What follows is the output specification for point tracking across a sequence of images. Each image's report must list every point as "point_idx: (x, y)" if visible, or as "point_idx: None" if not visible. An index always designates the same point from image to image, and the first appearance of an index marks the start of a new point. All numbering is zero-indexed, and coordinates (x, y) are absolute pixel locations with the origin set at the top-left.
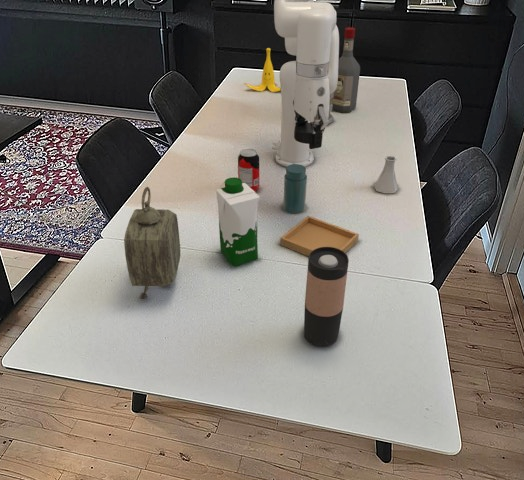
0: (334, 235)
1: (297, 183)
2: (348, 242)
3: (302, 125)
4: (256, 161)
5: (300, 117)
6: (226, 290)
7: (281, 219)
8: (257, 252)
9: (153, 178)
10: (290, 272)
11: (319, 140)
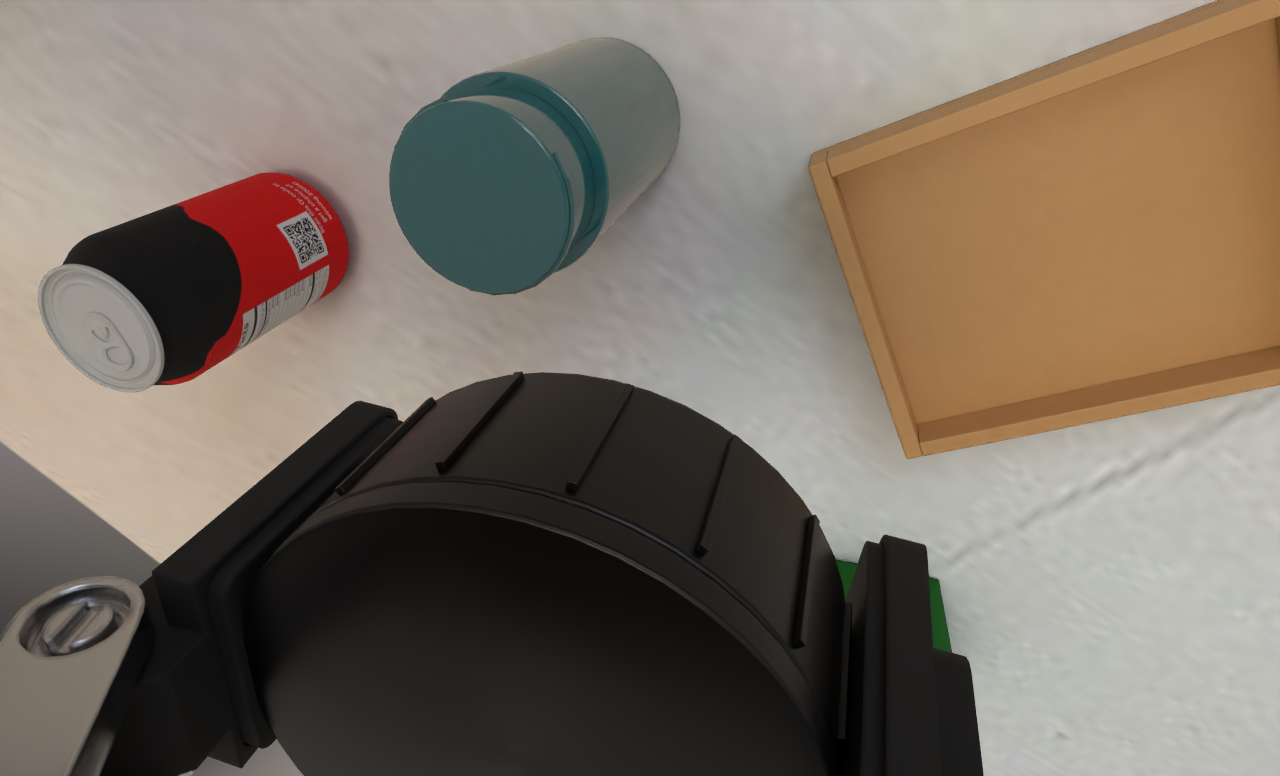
0: (1096, 114)
1: (606, 221)
2: None
3: (360, 744)
4: (197, 297)
5: (118, 764)
6: (1025, 762)
7: (686, 272)
8: (935, 607)
9: (117, 519)
10: (1150, 539)
11: (966, 744)
